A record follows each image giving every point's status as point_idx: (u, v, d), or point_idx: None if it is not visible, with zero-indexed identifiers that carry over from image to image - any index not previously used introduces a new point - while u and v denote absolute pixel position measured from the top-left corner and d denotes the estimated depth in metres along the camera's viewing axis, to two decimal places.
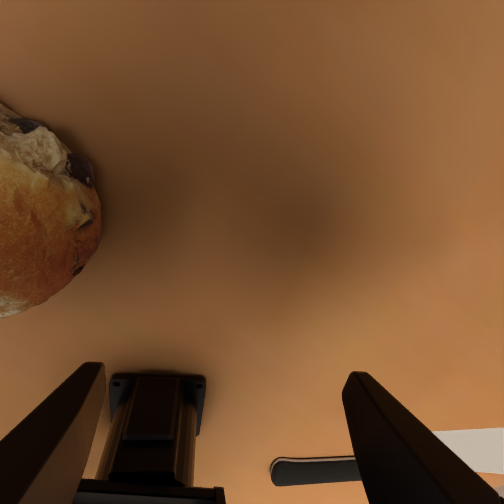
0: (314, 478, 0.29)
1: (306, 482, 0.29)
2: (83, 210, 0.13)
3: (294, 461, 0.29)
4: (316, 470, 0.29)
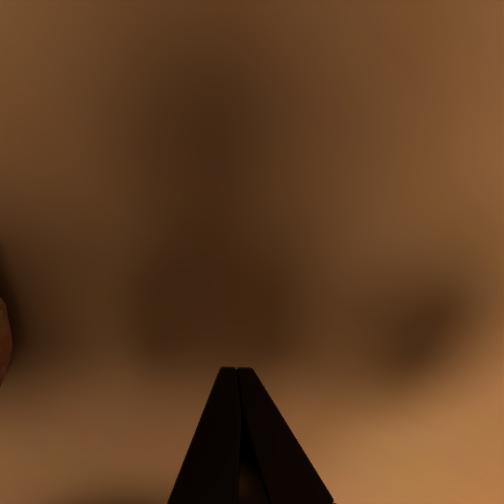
0: None
1: None
2: None
3: None
4: None
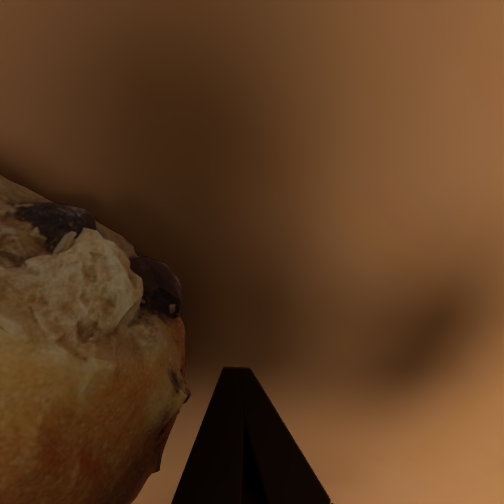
0: None
1: None
2: (176, 387, 0.06)
3: None
4: None
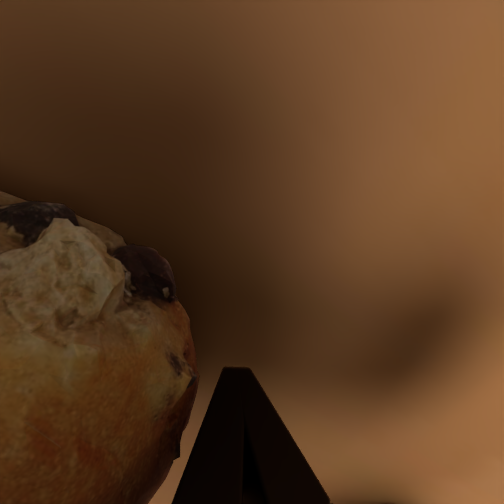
0: None
1: None
2: (176, 369, 0.06)
3: None
4: None
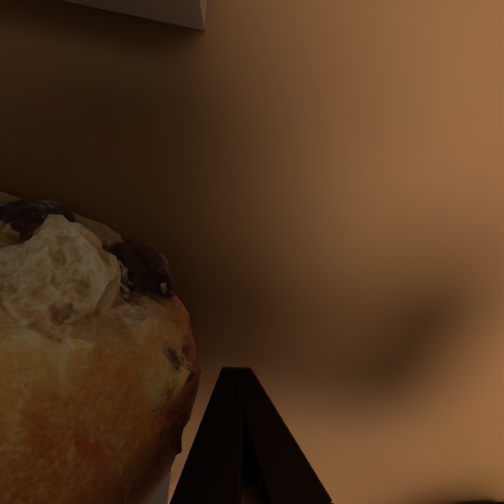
0: None
1: None
2: (175, 364, 0.06)
3: None
4: None
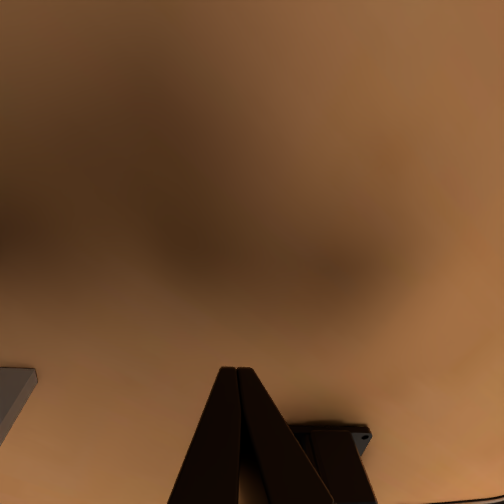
0: None
1: None
2: None
3: None
4: None
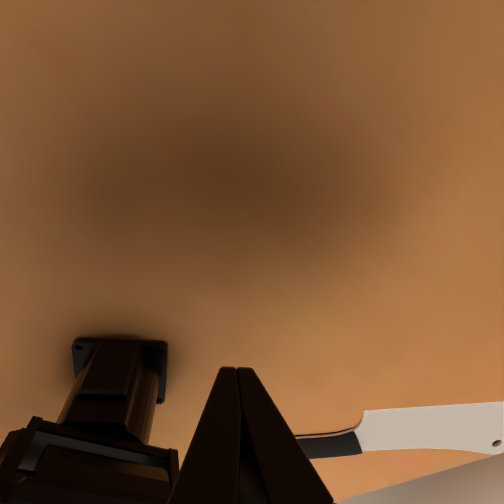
0: None
1: None
2: None
3: None
4: None
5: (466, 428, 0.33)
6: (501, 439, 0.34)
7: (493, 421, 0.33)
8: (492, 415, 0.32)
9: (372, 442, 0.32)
